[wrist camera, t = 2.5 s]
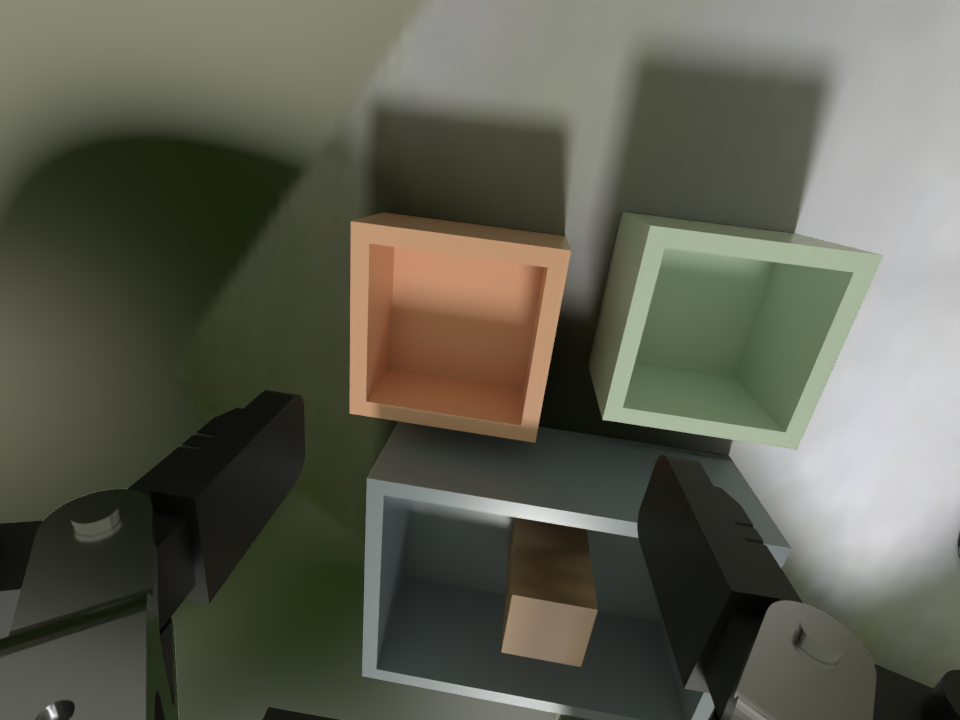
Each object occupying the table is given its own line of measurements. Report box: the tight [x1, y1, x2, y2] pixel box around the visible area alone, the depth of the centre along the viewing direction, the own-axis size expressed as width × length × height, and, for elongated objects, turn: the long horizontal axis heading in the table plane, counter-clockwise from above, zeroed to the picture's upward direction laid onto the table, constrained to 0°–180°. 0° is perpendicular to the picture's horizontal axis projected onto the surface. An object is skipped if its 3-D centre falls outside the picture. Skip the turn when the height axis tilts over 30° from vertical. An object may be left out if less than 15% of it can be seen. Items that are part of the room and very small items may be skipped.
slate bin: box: [362, 421, 791, 720], centre depth 26 cm, size 19×14×7 cm
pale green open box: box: [588, 212, 883, 450], centre depth 21 cm, size 8×8×6 cm
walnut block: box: [501, 517, 598, 667], centre depth 26 cm, size 4×4×7 cm
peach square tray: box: [350, 212, 571, 443], centre depth 23 cm, size 9×9×4 cm
